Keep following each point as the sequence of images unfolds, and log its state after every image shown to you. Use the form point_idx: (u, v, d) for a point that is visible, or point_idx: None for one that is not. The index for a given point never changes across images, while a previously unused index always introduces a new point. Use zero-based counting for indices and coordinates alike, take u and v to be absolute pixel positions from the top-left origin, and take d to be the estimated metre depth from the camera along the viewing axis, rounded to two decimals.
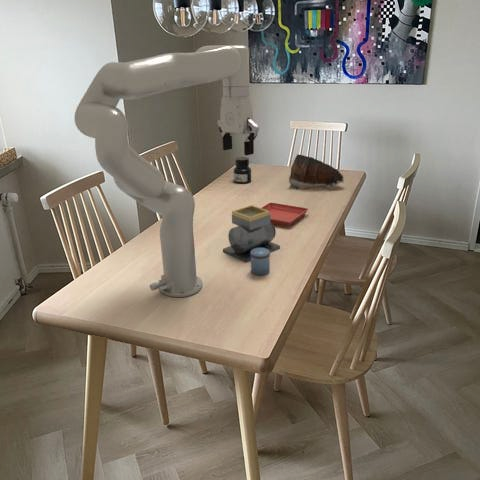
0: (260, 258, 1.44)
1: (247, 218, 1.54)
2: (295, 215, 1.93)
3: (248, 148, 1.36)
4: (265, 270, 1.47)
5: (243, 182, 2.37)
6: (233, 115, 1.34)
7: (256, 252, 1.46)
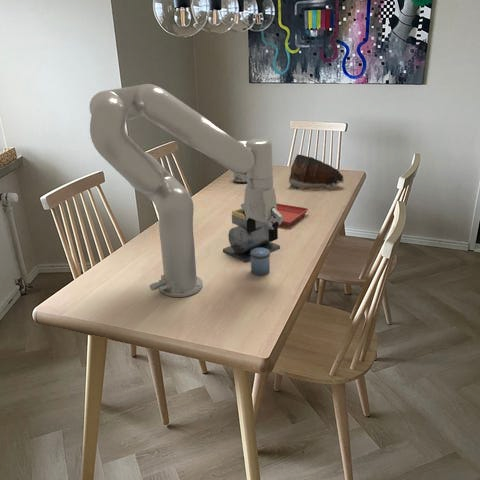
0: (260, 258, 1.44)
1: None
2: (295, 215, 1.93)
3: (272, 235, 1.40)
4: (265, 270, 1.47)
5: (243, 182, 2.37)
6: (257, 205, 1.38)
7: (256, 252, 1.46)
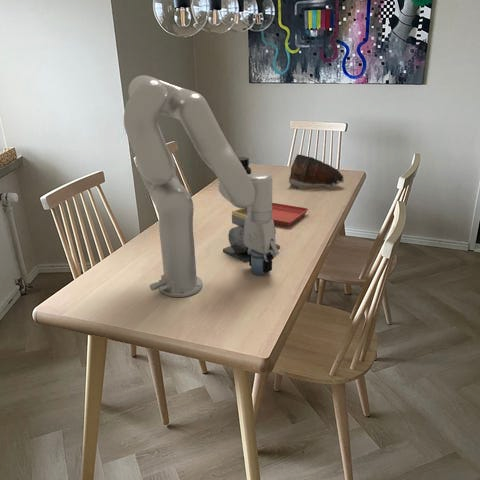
0: (260, 258, 1.44)
1: None
2: (295, 215, 1.93)
3: (266, 266, 1.45)
4: None
5: None
6: (257, 236, 1.42)
7: (256, 252, 1.46)
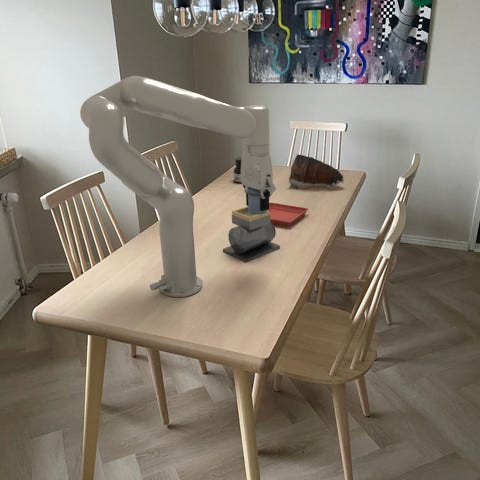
0: (257, 195, 1.41)
1: (247, 218, 1.54)
2: (295, 215, 1.93)
3: (263, 204, 1.41)
4: None
5: None
6: (253, 171, 1.38)
7: (253, 190, 1.43)
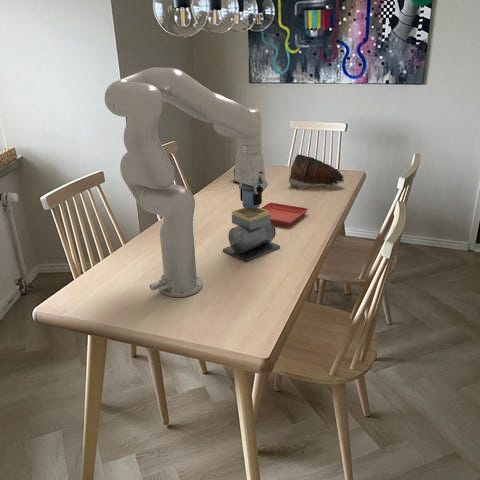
0: (250, 191, 1.53)
1: (247, 218, 1.54)
2: (295, 215, 1.93)
3: (256, 199, 1.54)
4: None
5: None
6: (247, 169, 1.50)
7: (247, 186, 1.55)
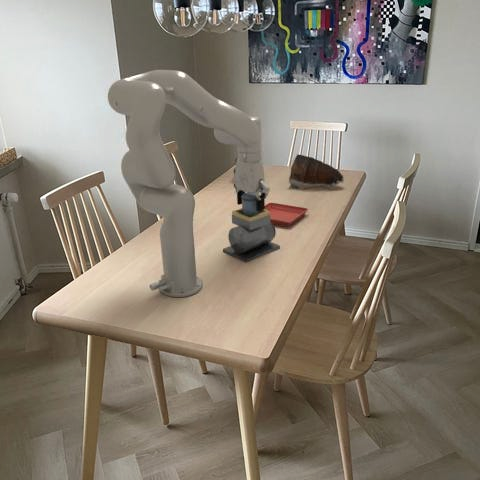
0: (250, 200, 1.54)
1: (247, 218, 1.54)
2: (295, 215, 1.93)
3: (259, 205, 1.53)
4: (255, 212, 1.57)
5: None
6: (247, 177, 1.51)
7: (247, 195, 1.56)
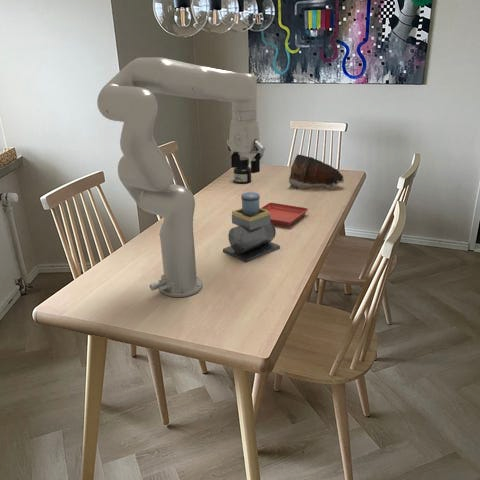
0: (250, 200, 1.54)
1: (247, 218, 1.54)
2: (295, 215, 1.93)
3: (254, 166, 1.48)
4: (255, 212, 1.57)
5: (243, 182, 2.37)
6: (241, 136, 1.46)
7: (247, 195, 1.56)
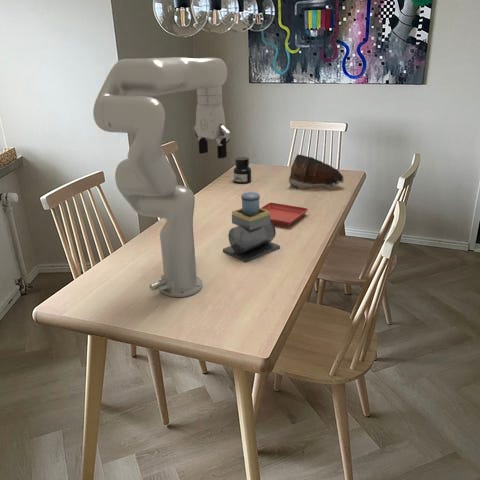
0: (250, 200, 1.54)
1: (247, 218, 1.54)
2: (295, 215, 1.93)
3: (221, 151, 1.48)
4: (255, 212, 1.57)
5: (243, 182, 2.37)
6: (207, 121, 1.46)
7: (247, 195, 1.56)
